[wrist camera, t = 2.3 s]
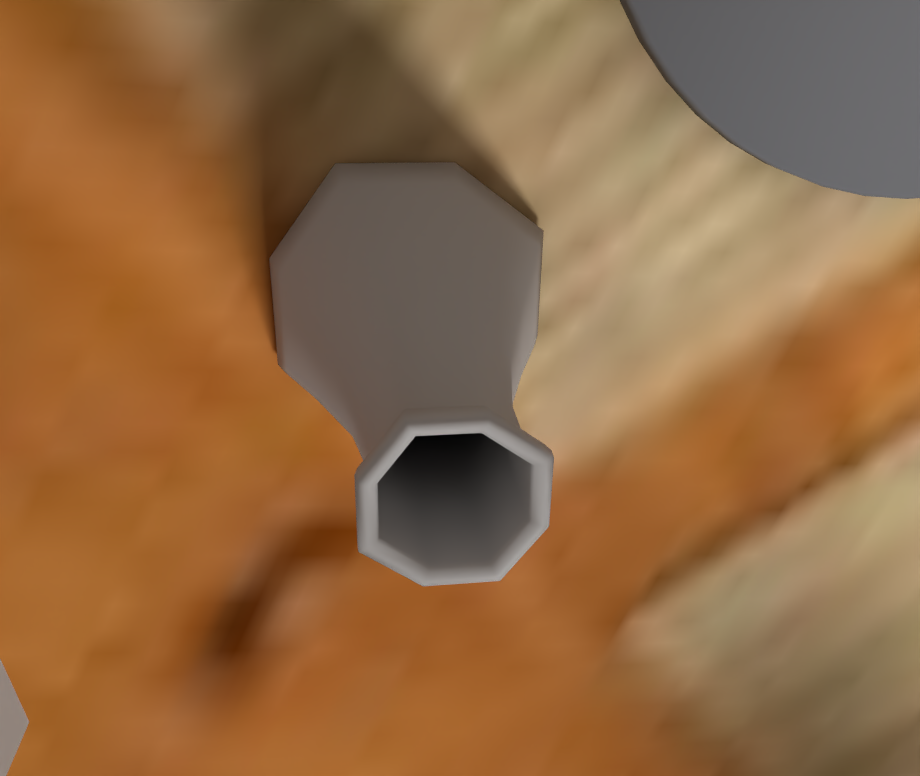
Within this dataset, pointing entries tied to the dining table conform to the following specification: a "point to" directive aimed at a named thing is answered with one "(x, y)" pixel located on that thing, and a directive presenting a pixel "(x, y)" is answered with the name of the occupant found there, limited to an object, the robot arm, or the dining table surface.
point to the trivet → (799, 82)
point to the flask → (421, 360)
